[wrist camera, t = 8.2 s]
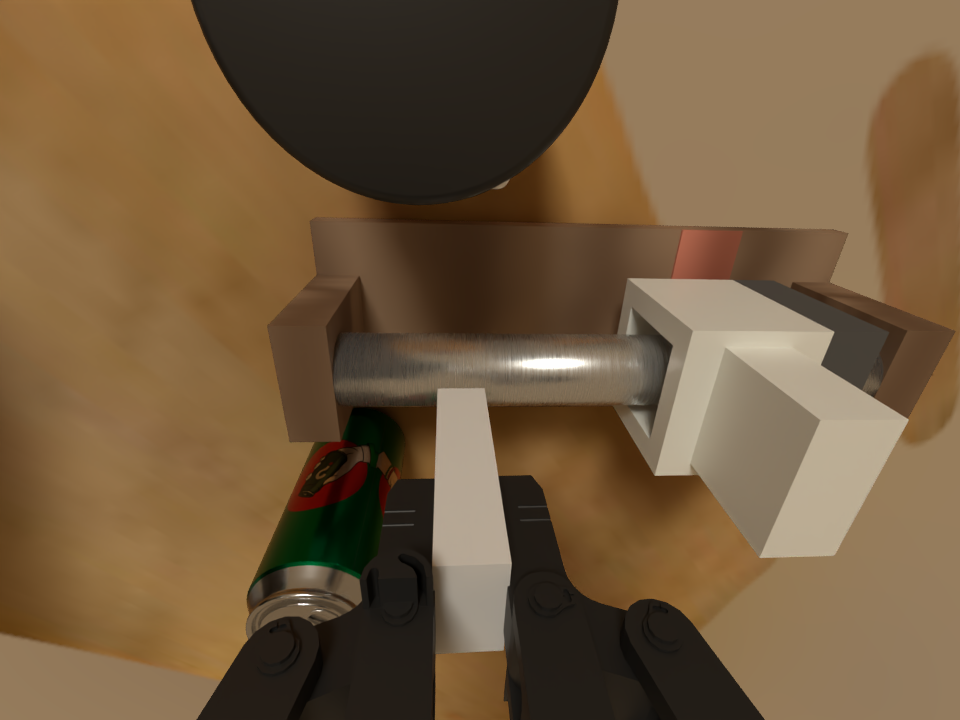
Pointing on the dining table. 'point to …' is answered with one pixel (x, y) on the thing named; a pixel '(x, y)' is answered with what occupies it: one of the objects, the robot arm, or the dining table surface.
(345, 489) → the soda can
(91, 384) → the dining table surface
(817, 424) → the sleeve
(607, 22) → the jar
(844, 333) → the dark grey square collar
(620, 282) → the stand
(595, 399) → the pipe
